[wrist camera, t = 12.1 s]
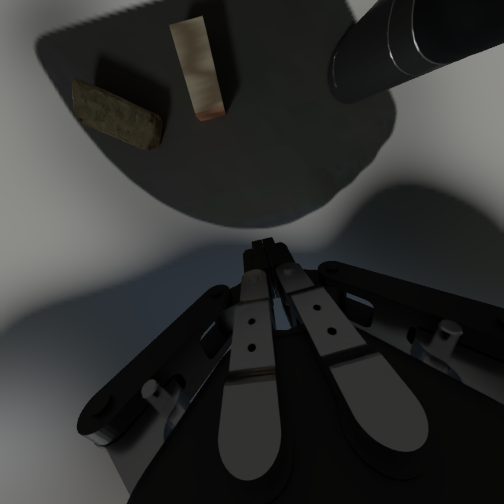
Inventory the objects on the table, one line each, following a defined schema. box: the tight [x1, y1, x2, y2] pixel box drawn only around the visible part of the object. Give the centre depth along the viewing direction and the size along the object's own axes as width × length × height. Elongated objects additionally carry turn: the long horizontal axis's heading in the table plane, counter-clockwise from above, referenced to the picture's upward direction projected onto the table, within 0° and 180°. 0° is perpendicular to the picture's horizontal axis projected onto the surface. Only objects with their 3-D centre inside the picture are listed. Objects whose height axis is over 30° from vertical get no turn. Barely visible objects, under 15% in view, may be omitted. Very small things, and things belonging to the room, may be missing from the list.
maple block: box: [169, 16, 226, 121], centre depth 28 cm, size 4×4×10 cm
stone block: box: [72, 78, 163, 150], centre depth 30 cm, size 6×12×5 cm, turn 68°
